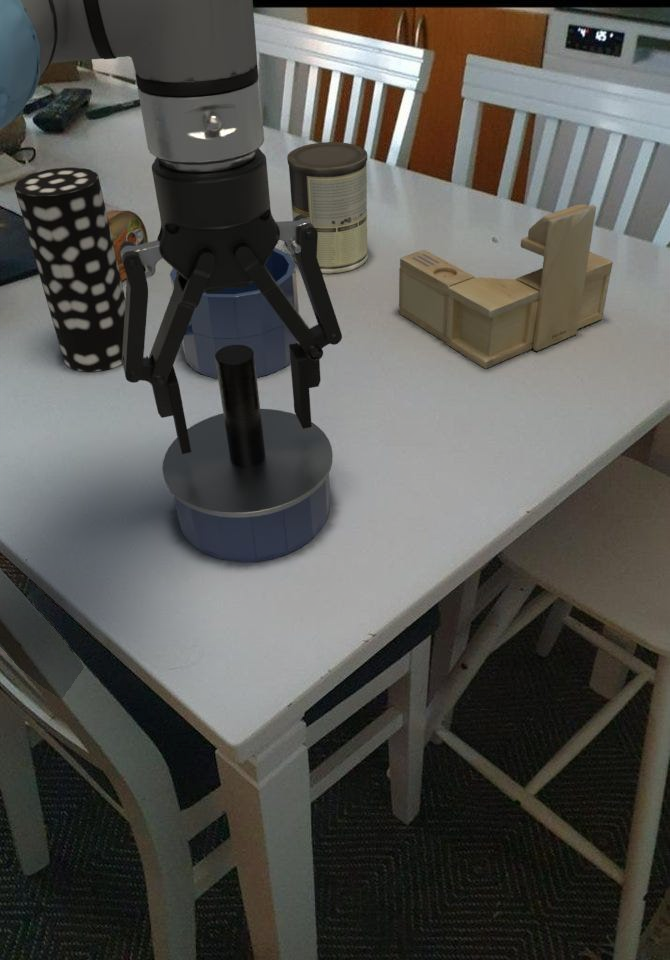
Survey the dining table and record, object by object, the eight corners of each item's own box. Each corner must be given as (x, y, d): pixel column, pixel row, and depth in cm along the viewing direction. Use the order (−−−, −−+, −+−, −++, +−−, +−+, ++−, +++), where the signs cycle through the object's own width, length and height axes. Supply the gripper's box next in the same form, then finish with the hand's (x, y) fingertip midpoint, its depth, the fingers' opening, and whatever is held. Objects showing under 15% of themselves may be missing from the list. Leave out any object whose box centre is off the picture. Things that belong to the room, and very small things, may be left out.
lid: (178, 541, 63) (153, 424, 55) (154, 436, 73) (130, 327, 66) (355, 500, 66) (352, 384, 58) (307, 405, 76) (299, 298, 69)
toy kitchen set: (509, 273, 107) (522, 156, 97) (607, 322, 96) (632, 195, 86) (397, 314, 100) (399, 191, 90) (488, 372, 89) (502, 239, 79)
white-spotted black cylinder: (114, 328, 99) (75, 161, 86) (149, 353, 94) (113, 180, 81) (51, 352, 95) (1, 181, 82) (83, 380, 90) (35, 202, 77)
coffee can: (280, 265, 112) (271, 160, 103) (319, 238, 118) (314, 137, 109) (344, 280, 107) (341, 172, 98) (381, 251, 114) (381, 147, 105)
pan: (192, 578, 66) (182, 529, 63) (169, 479, 76) (159, 433, 73) (348, 540, 69) (347, 491, 65) (306, 450, 79) (302, 404, 75)
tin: (83, 307, 104) (66, 244, 98) (64, 303, 105) (47, 240, 100) (154, 261, 114) (143, 202, 109) (136, 257, 115) (124, 198, 110)
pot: (195, 389, 88) (181, 306, 82) (176, 332, 98) (162, 254, 92) (313, 366, 91) (308, 284, 84) (283, 313, 101) (277, 236, 94)
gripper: (34, 196, 48) (114, 487, 62) (386, 148, 52) (385, 429, 67) (32, 157, 53) (105, 433, 67) (350, 117, 58) (356, 382, 72)
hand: (244, 431), depth 67 cm, fingers open, 9 cm apart
